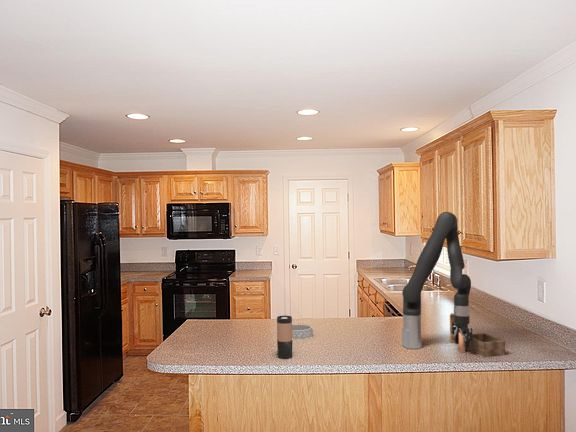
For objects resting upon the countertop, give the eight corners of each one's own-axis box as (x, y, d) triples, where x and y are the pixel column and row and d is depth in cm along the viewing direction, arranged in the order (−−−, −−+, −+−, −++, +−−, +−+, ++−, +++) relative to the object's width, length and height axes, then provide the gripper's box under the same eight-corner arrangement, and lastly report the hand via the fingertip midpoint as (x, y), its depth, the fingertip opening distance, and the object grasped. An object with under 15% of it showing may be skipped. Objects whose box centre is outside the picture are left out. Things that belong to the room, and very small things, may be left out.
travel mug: (292, 354, 238) (291, 315, 237) (293, 359, 230) (292, 318, 230) (277, 355, 237) (276, 315, 237) (277, 359, 230) (276, 318, 230)
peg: (461, 353, 235) (460, 333, 235) (457, 351, 238) (457, 331, 238) (466, 352, 236) (466, 332, 236) (463, 351, 239) (462, 331, 239)
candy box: (449, 342, 255) (449, 314, 255) (451, 340, 259) (450, 313, 258) (467, 344, 250) (466, 316, 250) (468, 342, 254) (468, 314, 254)
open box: (484, 357, 228) (483, 342, 228) (464, 348, 243) (464, 334, 243) (505, 355, 231) (505, 340, 231) (484, 346, 246) (484, 333, 246)
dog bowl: (283, 340, 266) (283, 331, 266) (284, 332, 284) (284, 323, 284) (313, 340, 265) (313, 330, 265) (312, 332, 284) (312, 323, 283)
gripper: (446, 311, 243) (447, 343, 243) (463, 317, 229) (464, 350, 229) (459, 310, 245) (460, 341, 245) (476, 316, 231) (477, 349, 231)
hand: (462, 346), depth 237 cm, fingers open, 8 cm apart
